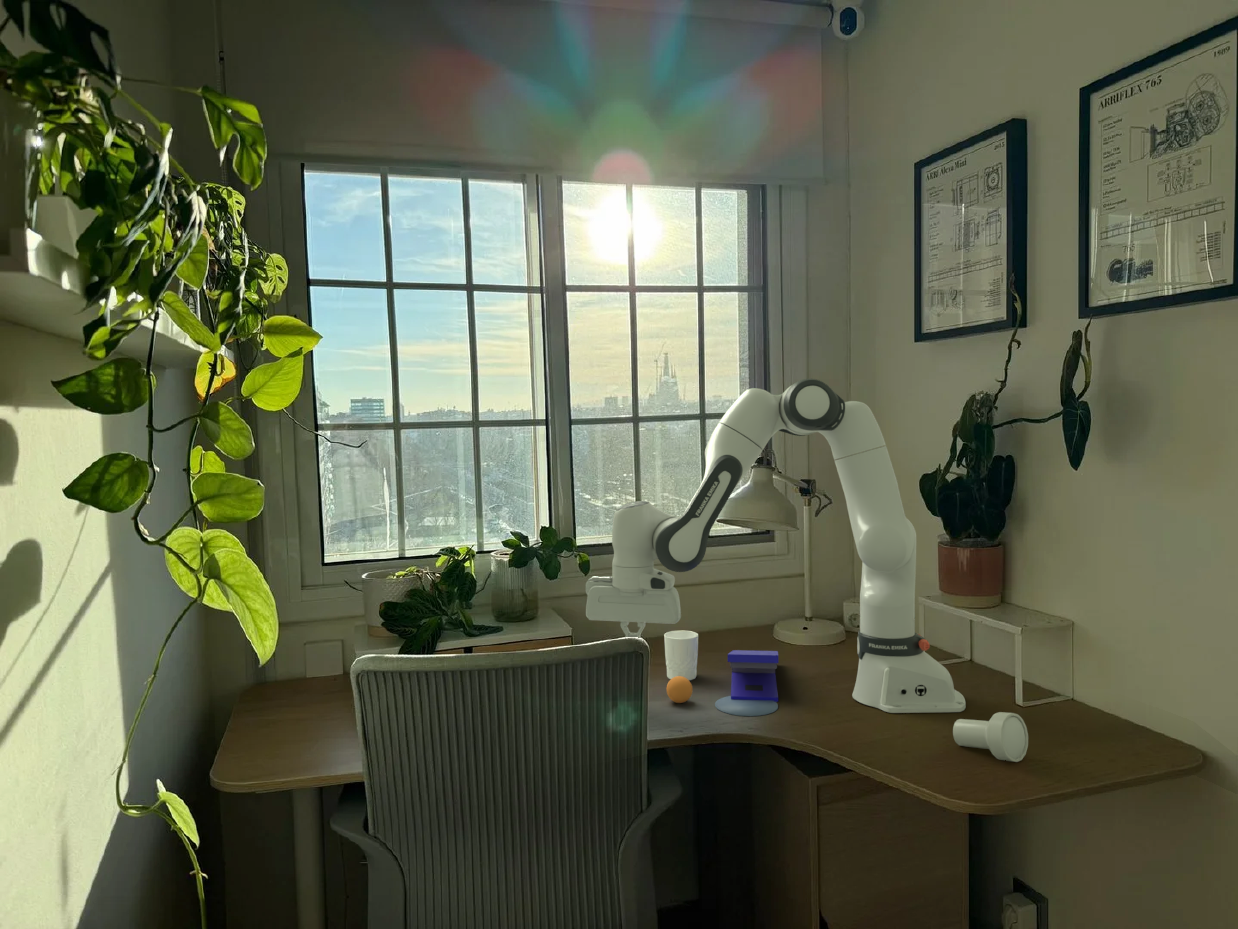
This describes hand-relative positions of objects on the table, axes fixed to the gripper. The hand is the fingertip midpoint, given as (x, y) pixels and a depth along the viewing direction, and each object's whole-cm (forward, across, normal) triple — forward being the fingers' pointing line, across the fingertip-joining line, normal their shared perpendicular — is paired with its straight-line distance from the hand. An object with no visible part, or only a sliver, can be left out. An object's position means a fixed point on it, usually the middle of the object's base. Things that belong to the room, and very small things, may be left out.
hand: (633, 642), depth 185 cm
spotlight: (+12, +68, -19) cm, 72 cm away
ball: (+10, +10, 0) cm, 14 cm away
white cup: (+13, +8, +18) cm, 23 cm away
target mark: (+12, +24, 0) cm, 27 cm away
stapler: (+13, +25, +17) cm, 33 cm away
